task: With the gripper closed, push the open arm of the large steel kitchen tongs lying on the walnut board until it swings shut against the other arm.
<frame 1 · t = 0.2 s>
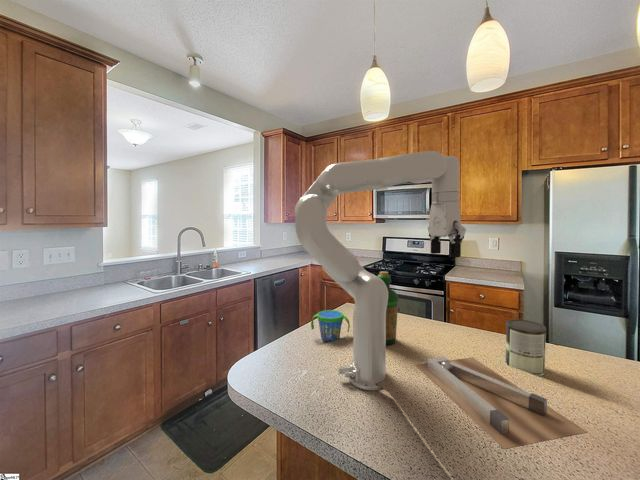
hand: (444, 255, 86), 36 cm above the countertop, tool pointing down, fingers open, 9 cm apart
bottle: (383, 344, 108), on the countertop
coffee can: (524, 368, 89), on the countertop
tongs fixed arm: (445, 373, 84), resting on walnut board
tongs arm: (486, 384, 75), point 3 cm above the countertop, hinge at 25.0°
snack cup: (330, 339, 114), on the countertop
walnut board: (484, 397, 75), on the countertop
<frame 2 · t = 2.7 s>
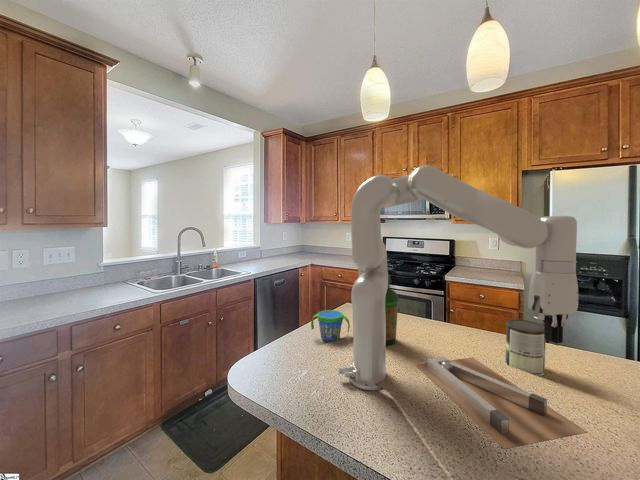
hand: (553, 340, 69), 17 cm above the countertop, tool pointing down, fingers closed
nothing on the countertop moved.
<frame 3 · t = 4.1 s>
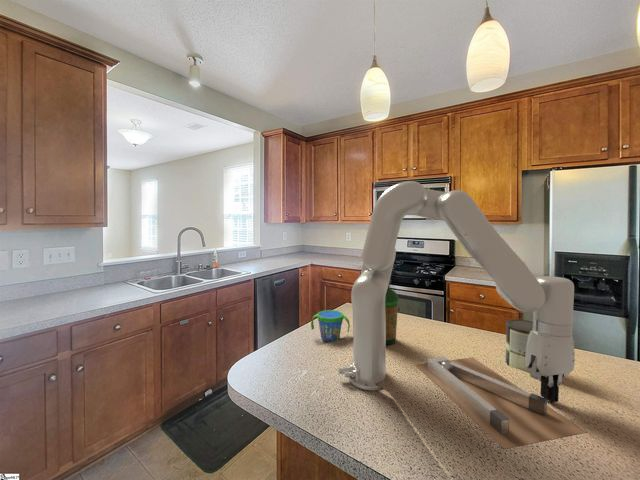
hand: (549, 398, 70), 2 cm above the countertop, tool pointing down, fingers closed
nothing on the countertop moved.
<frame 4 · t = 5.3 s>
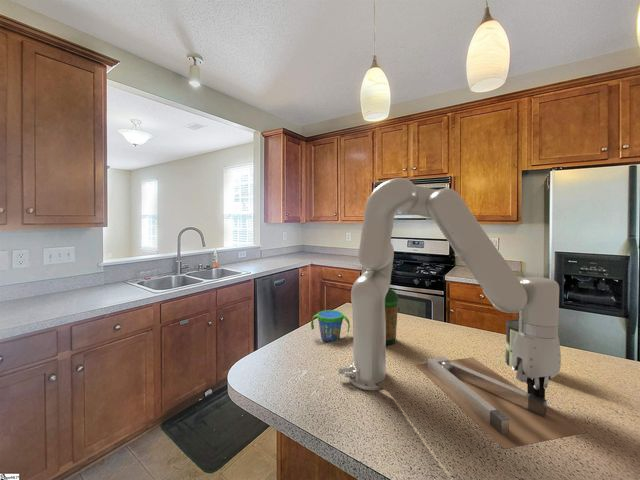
hand: (535, 401, 70), 2 cm above the countertop, tool pointing down, fingers closed
tongs arm: (486, 384, 75), point 3 cm above the countertop, hinge at 24.0°, touching gripper
everything else where it was.
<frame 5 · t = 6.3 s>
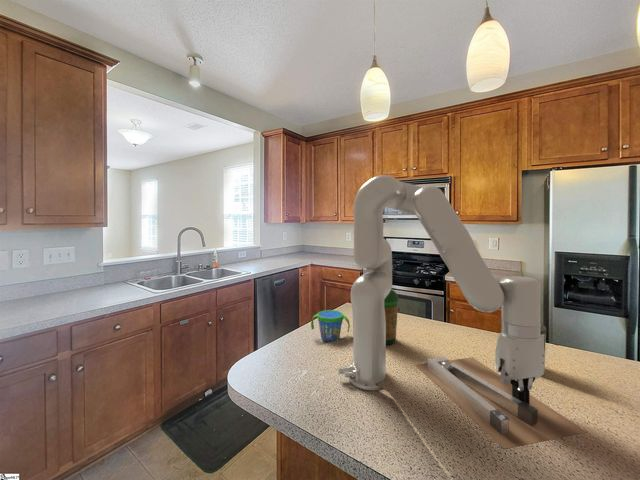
hand: (520, 403, 68), 3 cm above the countertop, tool pointing down, fingers closed
tongs arm: (481, 388, 74), point 3 cm above the countertop, hinge at 10.5°, touching gripper
everything else where it was.
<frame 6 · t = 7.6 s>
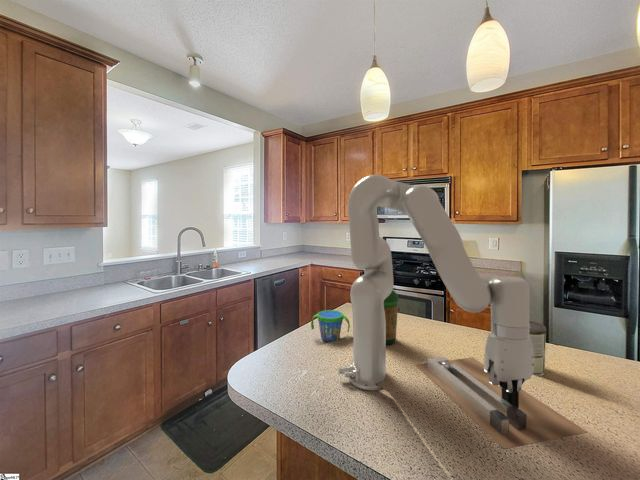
hand: (510, 405, 67), 3 cm above the countertop, tool pointing down, fingers closed
tongs arm: (475, 389, 73), point 3 cm above the countertop, hinge at 1.0°, touching gripper
everything else where it was.
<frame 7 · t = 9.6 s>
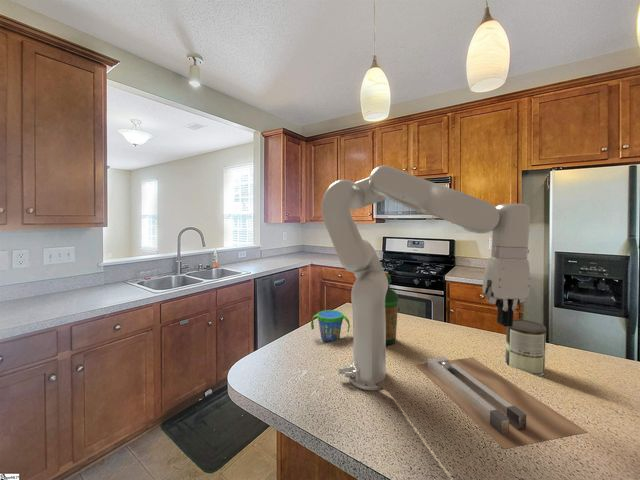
hand: (504, 324, 72), 20 cm above the countertop, tool pointing down, fingers closed
tongs arm: (475, 389, 73), point 3 cm above the countertop, hinge at 0.9°
everything else where it was.
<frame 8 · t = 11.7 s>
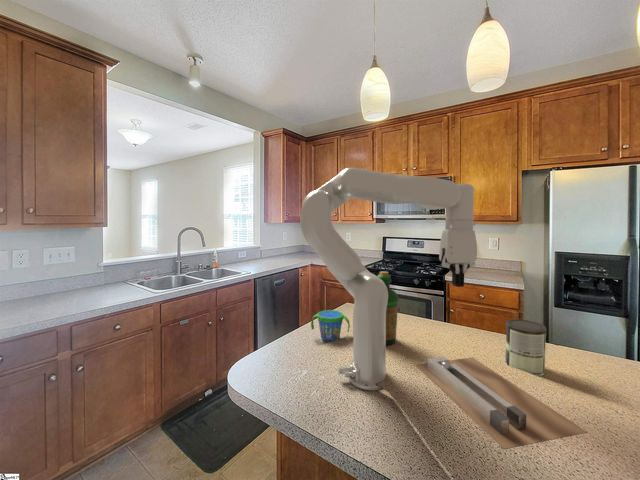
hand: (458, 285, 86), 27 cm above the countertop, tool pointing down, fingers closed
nothing on the countertop moved.
at the end: tongs arm at +1° (first picture: +25°); the gripper is holding nothing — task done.
